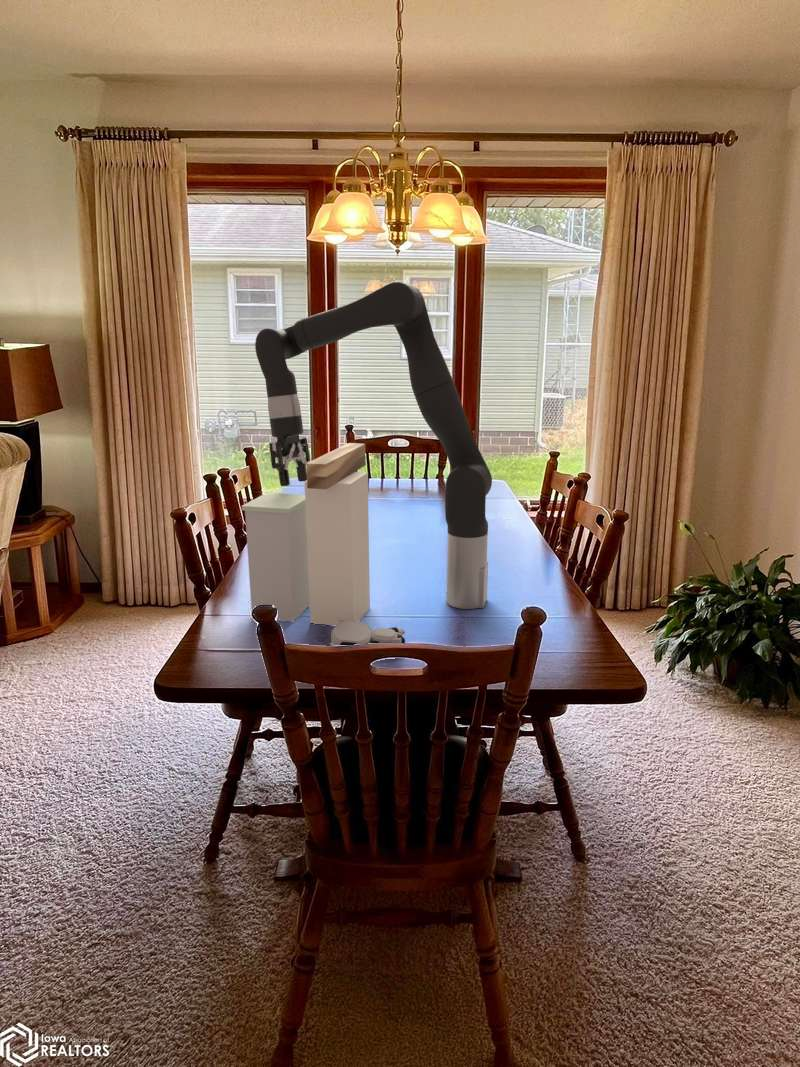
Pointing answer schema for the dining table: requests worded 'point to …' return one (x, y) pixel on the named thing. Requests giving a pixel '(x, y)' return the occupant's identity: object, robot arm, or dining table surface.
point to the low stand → (278, 553)
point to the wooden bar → (335, 466)
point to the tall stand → (338, 550)
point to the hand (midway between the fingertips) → (294, 483)
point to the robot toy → (364, 634)
